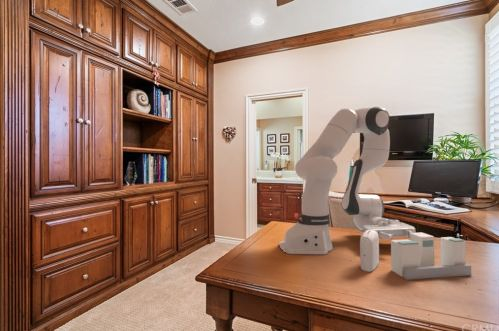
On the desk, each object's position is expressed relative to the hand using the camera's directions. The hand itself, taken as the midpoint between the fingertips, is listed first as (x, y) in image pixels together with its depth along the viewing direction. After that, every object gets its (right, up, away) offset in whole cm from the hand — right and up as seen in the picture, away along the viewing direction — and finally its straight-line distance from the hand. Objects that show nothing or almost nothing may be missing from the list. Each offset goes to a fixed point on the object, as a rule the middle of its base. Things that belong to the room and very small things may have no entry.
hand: (402, 236), depth 94 cm
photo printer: (-17, -8, -9) cm, 21 cm away
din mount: (0, -7, -15) cm, 17 cm away
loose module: (0, -7, -11) cm, 13 cm away
